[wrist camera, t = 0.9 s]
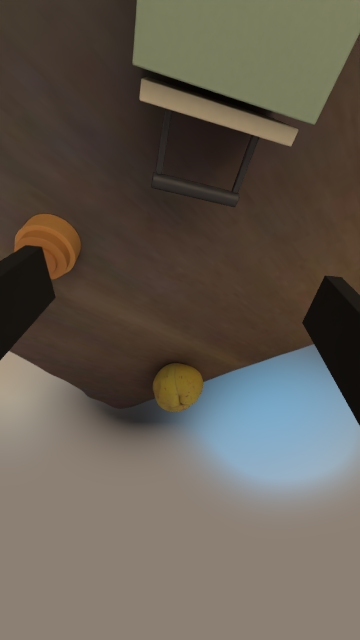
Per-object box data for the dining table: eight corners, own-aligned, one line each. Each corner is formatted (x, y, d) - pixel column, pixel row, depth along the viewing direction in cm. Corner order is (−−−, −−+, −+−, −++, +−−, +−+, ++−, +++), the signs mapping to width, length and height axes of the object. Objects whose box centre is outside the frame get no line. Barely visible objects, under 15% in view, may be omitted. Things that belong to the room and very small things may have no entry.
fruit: (141, 367, 58) (139, 409, 51) (179, 345, 52) (182, 388, 45) (173, 384, 64) (175, 423, 57) (210, 366, 59) (216, 406, 52)
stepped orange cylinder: (20, 247, 35) (2, 270, 31) (31, 202, 31) (11, 222, 27) (72, 269, 38) (61, 293, 34) (88, 231, 34) (78, 253, 30)
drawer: (239, 194, 30) (256, 222, 25) (136, 169, 28) (130, 193, 22) (379, -173, 15) (501, -311, 10) (184, -301, 13) (201, -583, 7)
